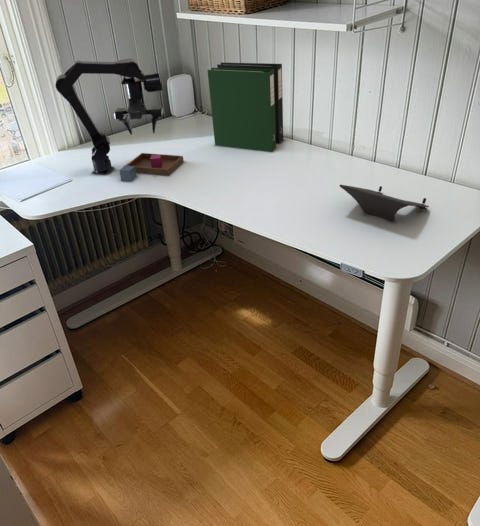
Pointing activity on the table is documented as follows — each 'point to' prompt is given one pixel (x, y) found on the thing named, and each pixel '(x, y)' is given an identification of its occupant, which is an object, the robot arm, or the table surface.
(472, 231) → the table surface
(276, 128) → the binder
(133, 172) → the slate block
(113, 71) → the robot arm
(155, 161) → the mulberry block
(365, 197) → the laptop tray
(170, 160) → the tray
